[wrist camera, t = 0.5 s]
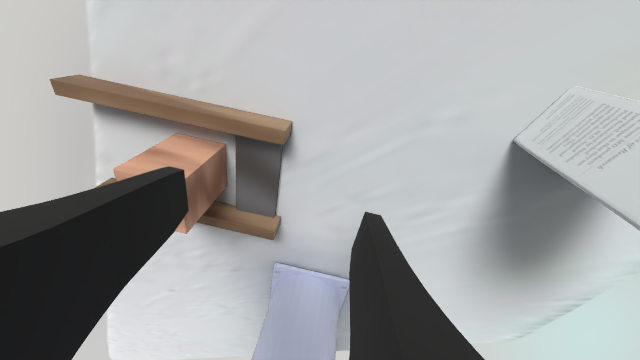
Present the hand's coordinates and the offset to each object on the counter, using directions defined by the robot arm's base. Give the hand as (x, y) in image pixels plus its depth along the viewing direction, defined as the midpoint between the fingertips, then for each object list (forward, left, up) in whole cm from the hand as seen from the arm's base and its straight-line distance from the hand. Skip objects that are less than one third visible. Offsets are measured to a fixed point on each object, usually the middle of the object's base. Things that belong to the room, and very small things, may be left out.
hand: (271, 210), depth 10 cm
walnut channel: (-5, +9, -10) cm, 14 cm away
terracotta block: (-5, +8, -10) cm, 14 cm away
